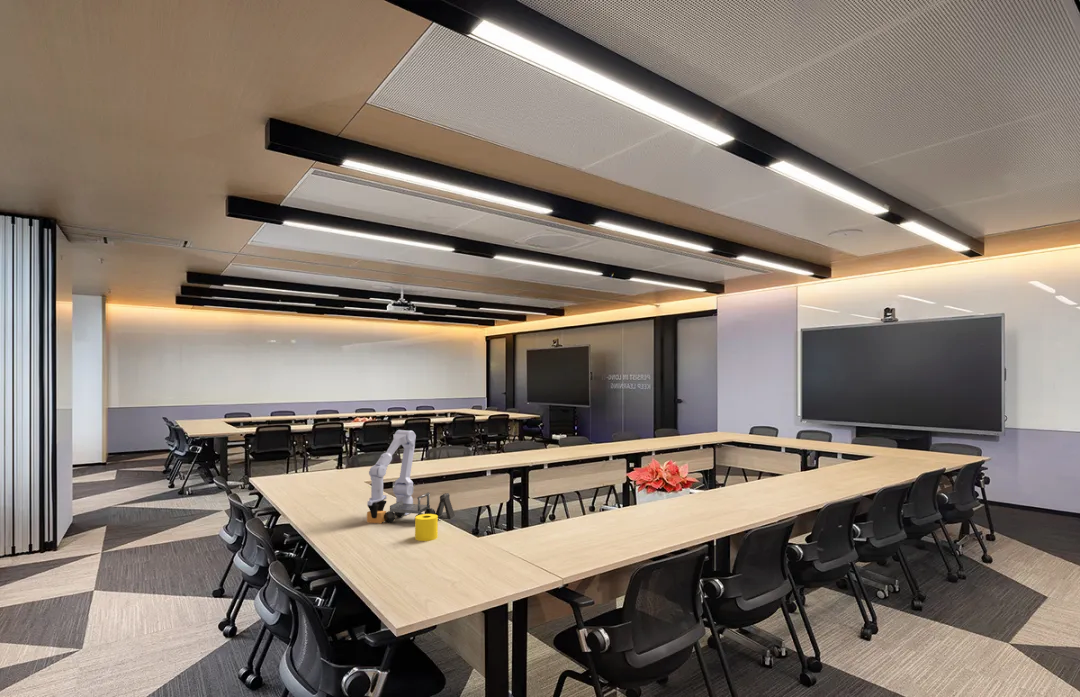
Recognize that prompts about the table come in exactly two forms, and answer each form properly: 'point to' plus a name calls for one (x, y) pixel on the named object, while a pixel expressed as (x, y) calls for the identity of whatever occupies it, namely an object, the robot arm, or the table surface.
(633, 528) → the table surface
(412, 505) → the trolley
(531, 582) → the table surface
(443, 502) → the grey a-frame stand
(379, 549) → the table surface
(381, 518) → the orange rectangular block
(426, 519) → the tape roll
